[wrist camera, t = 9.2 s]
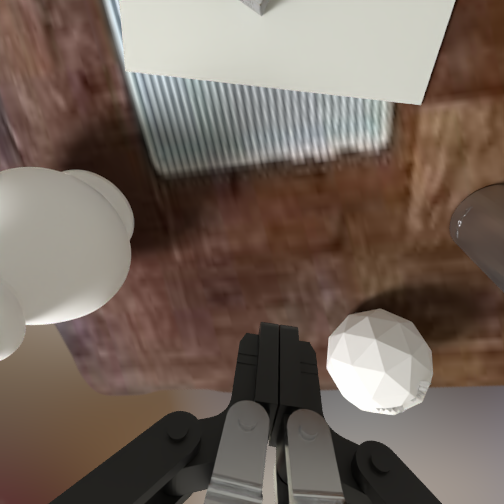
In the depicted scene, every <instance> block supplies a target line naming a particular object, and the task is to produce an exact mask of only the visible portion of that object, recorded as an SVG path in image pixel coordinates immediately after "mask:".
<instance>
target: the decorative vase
mask: <svg viewBox="0 0 504 504" xmlns="http://www.w3.org/2000/svg"><path fill="white" fill-rule="evenodd" d="M133 231H134V216H133V212H132V209H131V207H130V204H129V202H128V201H127V199H126V197H125V196H124V195H123V193H122V192H121V191H120V190H119V189H118V188H117V187H116V186H115V185H114V184H113V183H111V182H110V181H109V180H107V179H105V178H104V177H102V176H100V175H98V174H95V173H93V172H89V171H85V170H67V171H63V172H59V171H56V170H52V169H47V168H39V167H20V168H13V169H8V170H4V171H1V172H0V360H3V359H5V358H7V357H8V356H10V355H11V354H12V353H13V352H14V351H16V349H17V348H18V347H19V346H20V345H21V343H22V341H23V339H24V336H25V331H26V325H42V324H52V323H58V322H64V321H68V320H72V319H76V318H79V317H82V316H84V315H87V314H89V313H91V312H93V311H95V310H97V309H98V308H100V307H101V306H103V305H104V304H105V303H107V302H108V301H109V300H110V299H111V298H112V297H113V296H114V295H115V294H116V293H117V292H118V290H119V289H120V288H121V286H122V284H123V283H124V281H125V279H126V277H127V274H128V271H129V268H130V262H131V246H130V239H131V237H132V234H133Z"/></svg>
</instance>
